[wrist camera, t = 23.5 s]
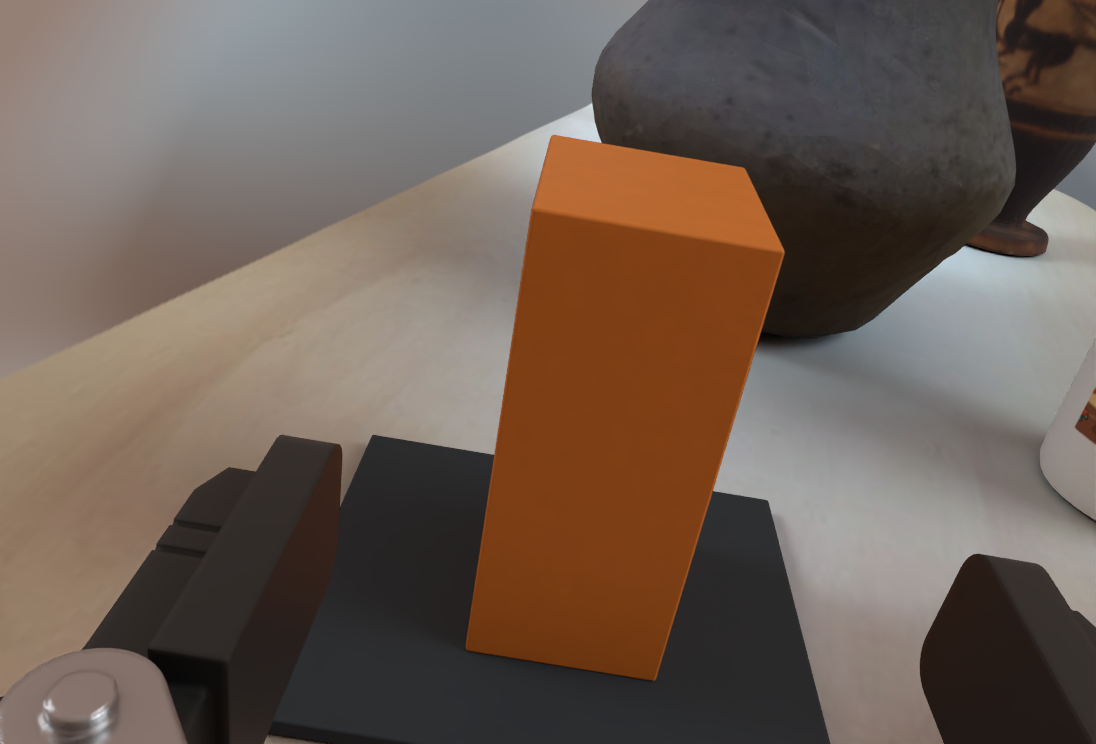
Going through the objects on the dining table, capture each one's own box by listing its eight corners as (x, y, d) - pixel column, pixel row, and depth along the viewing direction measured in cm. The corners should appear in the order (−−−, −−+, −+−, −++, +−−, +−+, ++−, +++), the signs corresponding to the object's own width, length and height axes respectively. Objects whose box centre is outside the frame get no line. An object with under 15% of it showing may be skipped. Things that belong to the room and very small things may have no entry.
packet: (464, 651, 23) (531, 206, 17) (492, 509, 28) (551, 133, 22) (655, 683, 23) (786, 250, 17) (647, 535, 28) (746, 166, 22)
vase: (896, 229, 65) (1075, -268, 50) (925, 201, 73) (1086, -231, 59) (1054, 277, 60) (1300, -252, 46) (1066, 242, 69) (1278, -214, 54)
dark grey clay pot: (498, 311, 42) (591, -348, 30) (622, 201, 60) (710, -235, 48) (945, 447, 37) (1268, -274, 25) (932, 282, 55) (1114, -180, 44)
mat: (246, 731, 20) (245, 716, 20) (371, 445, 31) (372, 433, 31) (842, 826, 21) (849, 813, 20) (764, 511, 31) (768, 499, 31)
